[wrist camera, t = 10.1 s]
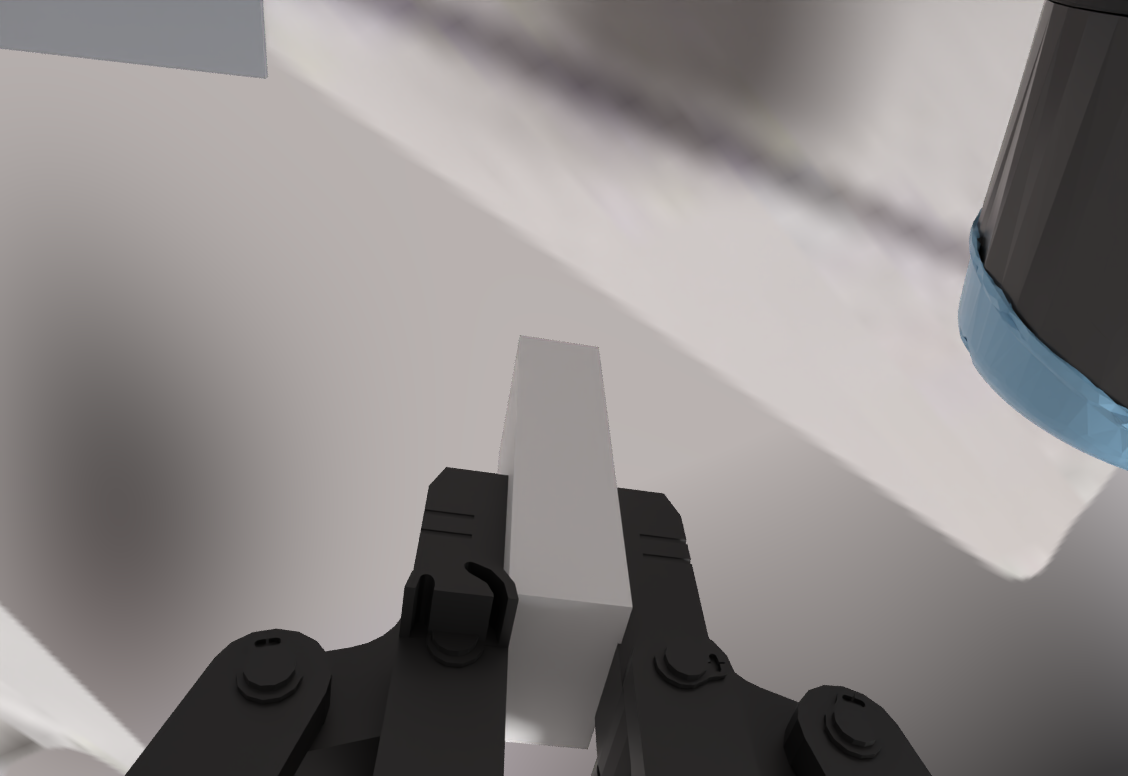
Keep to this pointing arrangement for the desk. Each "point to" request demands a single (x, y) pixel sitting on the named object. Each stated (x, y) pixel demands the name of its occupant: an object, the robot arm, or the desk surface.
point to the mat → (143, 32)
